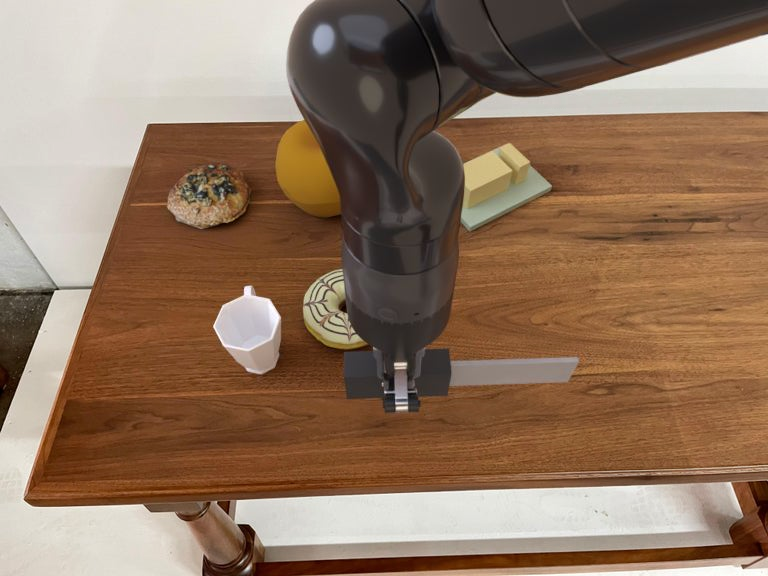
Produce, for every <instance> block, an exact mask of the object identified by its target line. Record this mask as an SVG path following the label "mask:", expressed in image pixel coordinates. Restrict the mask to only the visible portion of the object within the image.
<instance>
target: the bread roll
mask: <svg viewBox="0 0 768 576" xmlns="http://www.w3.org/2000/svg"><path fill="white" fill-rule="evenodd" d="M251 194H252V188H251V187H250V184H249V182H248V179H247V178H246V176H245V174H243V172H242V171H240V170H238V169H237V168H235V167H233V166H231V165H229V164H226V163H221V162H214V163H208V164H202V165H199V166H196V167H193V168H192V169H189V170H188V171H186V173H185V174H184V175H182V177H180V179H179V180H177V182H176V183H175V184H174V185H173V187H172V188H170V191H169V193H168V197H167V204H166V208H167V210H168V211H170V213H172V215H173V216H174V218H175V221H176V222H181V223H182V224H185V225H188V226H192V227H193V228H197V229H200V230H203V229H208V228H211V227H216V226H218V225H220V224H224V223H226V224H228V223H230V222H233V221H235V220H236V219H238V218H240V217H241V216H242V215H243V214H244V213H245V212H246V211H247V207H248V205H249V203H250V201H251V198H250V196H251Z"/></svg>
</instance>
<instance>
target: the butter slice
mask: <svg viewBox="0 0 768 576" xmlns="http://www.w3.org/2000/svg"><path fill="white" fill-rule="evenodd" d="M503 145H504V146H503ZM503 145H501V146H499V147H500V148H499V147H498V148H499V152H498V157H499V158H500V159H501V160H502V161H503V162H504V163H505V164H507V165H508V166H509V167H510V168H511V169H512V170H513V172H512V176H511V181H512V182H513V183H514V184H515V185H517V184H519V183H521V182H523V181H525V180H526V177H527V173H528V169H529V166H530V165H531V161H530V160H529V159H528V158H527V157H526V156H525V155H524V154H523V153H521V152H520V151H519V149H517V148H516V147H515V146H514V145H513V143H511V142H508V143H506V145H505V144H503Z"/></svg>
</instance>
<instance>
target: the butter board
mask: <svg viewBox="0 0 768 576" xmlns="http://www.w3.org/2000/svg"><path fill="white" fill-rule="evenodd" d="M506 144H507V143H506ZM506 144H503V145H502V146H504V145H506ZM500 147H501V146H498V147H497V148H495V149H492V150H490V151H489V152H491V151H493V152H494V153H495V154H496V155H497V156H498V152H499V148H500ZM482 155H483V154H481V155H479V156H477V157H476V158H478V157H480V156H482ZM469 161H470V160H469ZM469 161H466V162H463V164H465V163H467V162H469ZM552 188H553V185H552V184H550V182H548V180H546V178H545V177H543V176H542V174H540V173H539V172H538V171H537V170H536V169H535V168H534V167H533V166H532V165H531V164H530V166H529V169H528V173H527V177H526V180H525V181H523V182H521V183H519V184H517V185H515V184H514V183H513V182H512V181H511V180H510V184H509V189H507V190H505V191H503V192H501V193H499V194H497V195H495V196H493V197H491V198H489V199H487V200H485V201H483V202H481V203H479V204H477V205H474V206H472V207H470V208H468V209H467V208H466V207H465V206H464V205H463V208H462V215H461V222H460V224H462V225H463V227H465V228H466V230H467V231H468V232H473V231H475V230H476V229H478V228H480V227H482V226H485V225H486V224H488V223H490V222H492V221H494V220H496V219H498V218H500V217H502V216H503V215H506V214H508V213H510V212H512V211H514V210H516V209H518V208H520V207H522V206H523V205H527V204H528V203H530V202H532V201H534V200H536V199H538V198H540V197H542V196H543V195H545V194H548V193H549V192H551V191H552Z"/></svg>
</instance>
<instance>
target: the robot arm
mask: <svg viewBox="0 0 768 576" xmlns="http://www.w3.org/2000/svg"><path fill="white" fill-rule="evenodd" d="M767 35H768V0H313V1H312V2H310V3H309V4H308V5H307V6H306V7H305V8H304V10H303V11H302V12H301V13H300V14H299V15H298V17H297V19H296V21H295V23H294V25H293V28H292V31H291V33H290V36H289V40H288V44H287V50H286V57H285V58H286V59H285V72H286V80H287V83H288V87H289V90H290V93H291V95H292V98H293V100H294V103H295V105H296V107H297V109H298V110H299V113H300V114H301V117H302V118H303V120H305V122H306V123H307V125H308V127H309V129H310V131H311V132H312V134H313V136H314V138H315V140H316V141H317V143H318V145H319V147H320V149H321V151H322V154H323V156H324V158H325V161H326V163H327V165H328V167H329V170H330V172H331V175H332V177H333V179H334V182H335V184H336V187H337V190H338V192H339V197H340V209H341V214H340V218H341V219H340V220H341V228H342V240H341V249H340V250H341V253H340V254H341V256H340V257H341V269H343V278H344V288H345V297H346V305H345V307H346V313H347V315H348V319H349V322H350V324H351V326H352V328H353V330H354V331H355V332H356V334H357V335H358V336H359V337H360V338H361V339H362V340H363V341H365V342H366V343H367V344H368V345H369V346H371V347H372V351H373V356H374V358H376V359H377V376H378V377H379V378H381V379H383V380H384V381H382V387H384V398H381V400H382V401H381V402H382V409H384V413H385V414H400V413H419V412H420V411H419V410H420V408H421V405H422V404H421V399H419V397H418V395H417V389H416V388H413V386H415V380H414V378H416V377H419V376H420V371H421V358H422V357H423V356H424V355H425V349H426V347H427V346H429V345H431V344H432V343H434V342H435V341H436V340H437V339H438V338H439V337H440V336H441V335H442V334H443V332H444V331H445V329H446V328H447V326H448V323H449V321H450V318H451V312H452V307H453V306H452V305H453V299H454V294H455V293H454V292H455V287H456V280H457V273H458V267H459V259H460V246H459V245H460V244H459V233H460V228H461V215H462V208H463V200H464V190H465V173H464V165H463V164H464V162H463V160H462V157H461V154H460V152H459V151H458V149H457V148H456V147H455V145H454V144H453V143H452V142H451V141H450V140H449V139H448V138H447V137H445V136H444V135H442V134H441V133H439V132H437V131H435V130H437V129H439V128H440V127H442V126H444V125H445V124H446V123H448V122H450V121H451V120H454V118H456V117H457V116H459V115H461V114H462V113H465V112H466V111H467V110H469V109H470V108H472V107H474V106H475V105H477V104H478V103H479V102H481V101H483V100H486V99H487V98H489V97H491V96H493V95H495V94H500V95H503V96H507V97H512V98H523V99H524V98H525V99H526V98H539V97H547V96H553V95H559V94H564V93H569V92H572V91H576V90H580V89H584V88H586V87H590V86H593V85H597V84H601V83H604V82H608V81H611V80H616V79H618V78H623V77H626V76H629V75H632V74H637V73H640V72H643V71H646V70H647V71H648V70H651V69H654V68H657V67H662V66H666V65H668V64H669V65H670V64H673V63H676V62H678V61H682V60H686V59H689V58H693V57H695V56H699V55H702V54H703V55H704V54H707V53H709V52H712V51H716V50H719V49H723V48H726V47H729V46H733V45H737V44H739V43H740V44H741V43H744V42H747V41H750V40H755V39H758V38H760V37H764V36H767ZM383 353H384V358H385V359H384V358H383Z"/></svg>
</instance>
